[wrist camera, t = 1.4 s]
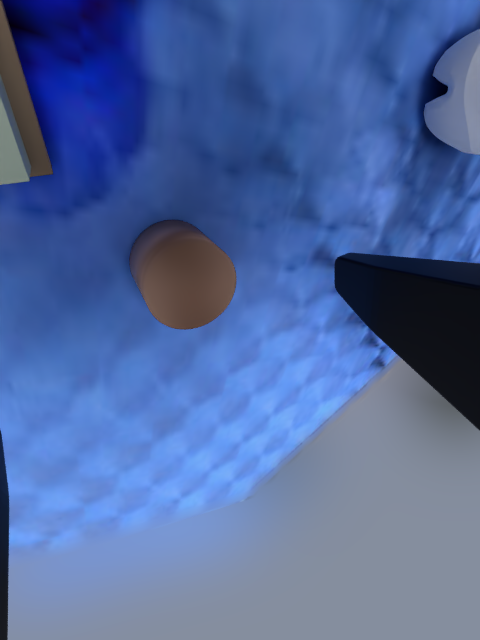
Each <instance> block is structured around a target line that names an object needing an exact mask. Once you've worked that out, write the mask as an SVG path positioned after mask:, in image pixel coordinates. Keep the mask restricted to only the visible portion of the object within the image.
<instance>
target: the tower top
mask: <svg viewBox="0 0 480 640" xmlns="http://www.w3.org/2000/svg"><path fill="white" fill-rule="evenodd" d="M30 173H31V165H30V162H29V159H28V156H27V153H26V150H25V147H24V144H23V141H22V138H21V135H20V132H19V129H18V126H17V123H16V120H15V117H14V114H13V111H12V108H11V105H10V102H9V99H8V96H7V93H6V90H5V87H4V84H3V81H2V78H1V75H0V185H2V184H10V183H19V182H27V181H30Z"/></svg>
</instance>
